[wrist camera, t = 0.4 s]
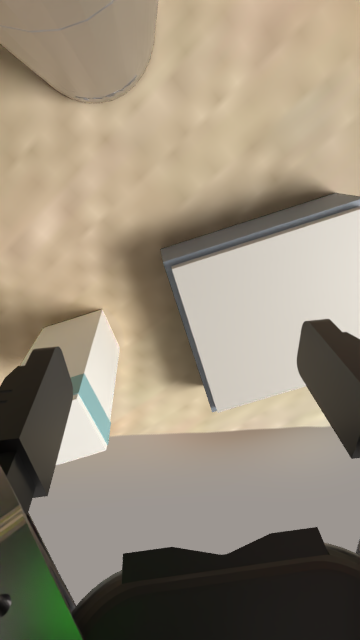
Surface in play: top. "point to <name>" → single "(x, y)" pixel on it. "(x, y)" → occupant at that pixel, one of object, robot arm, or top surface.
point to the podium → (266, 294)
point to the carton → (85, 380)
